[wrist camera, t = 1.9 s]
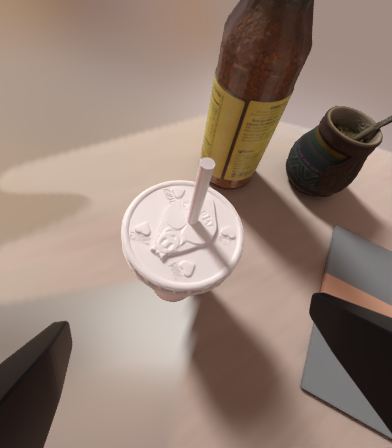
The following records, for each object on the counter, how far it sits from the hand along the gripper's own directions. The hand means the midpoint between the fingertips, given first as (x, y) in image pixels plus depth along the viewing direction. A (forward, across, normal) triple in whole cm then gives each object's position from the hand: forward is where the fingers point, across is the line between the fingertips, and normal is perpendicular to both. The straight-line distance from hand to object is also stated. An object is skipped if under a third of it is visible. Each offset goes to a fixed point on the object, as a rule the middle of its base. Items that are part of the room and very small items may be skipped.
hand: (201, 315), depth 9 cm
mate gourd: (+19, -17, -2) cm, 26 cm away
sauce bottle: (+20, -7, -4) cm, 21 cm away
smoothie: (+11, 0, +5) cm, 12 cm away
